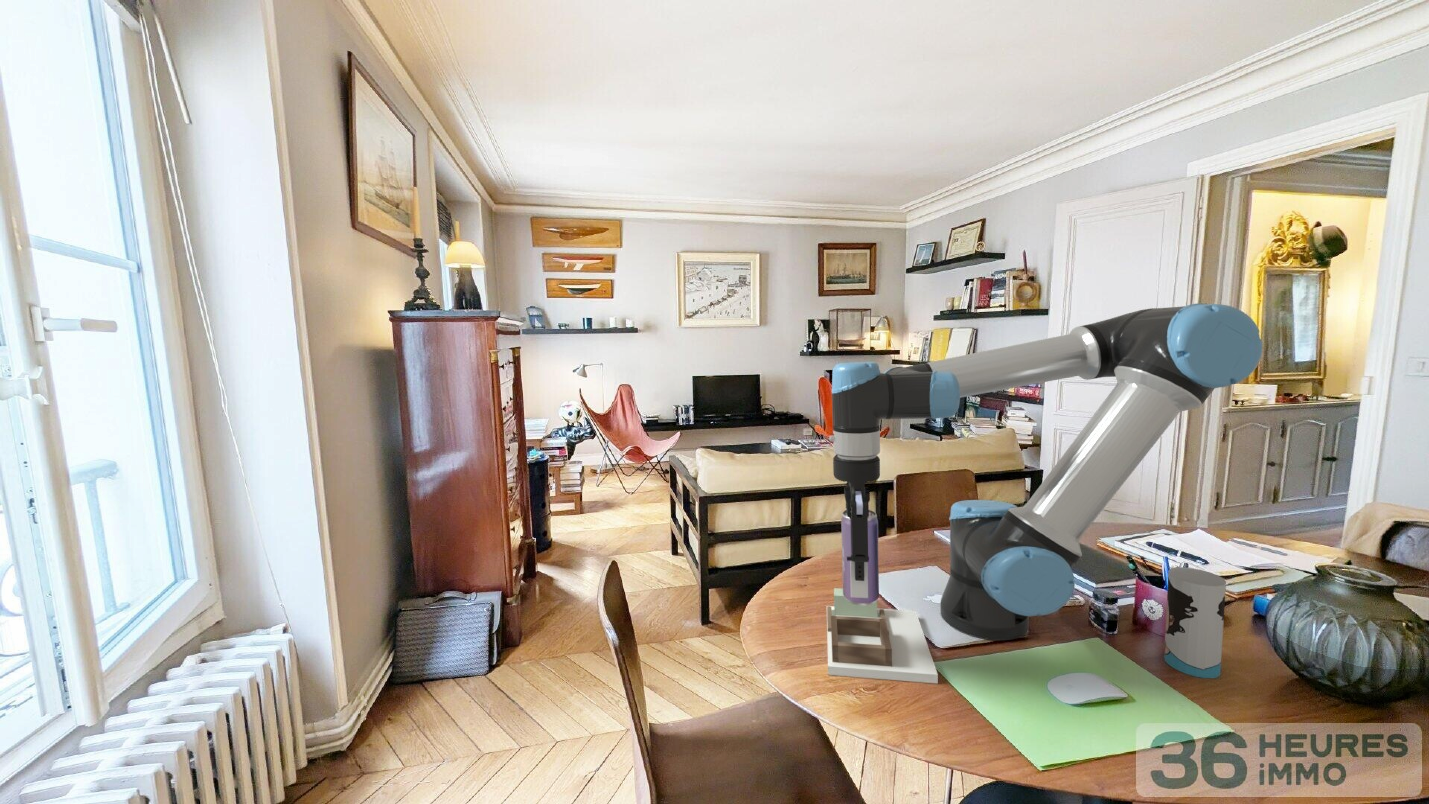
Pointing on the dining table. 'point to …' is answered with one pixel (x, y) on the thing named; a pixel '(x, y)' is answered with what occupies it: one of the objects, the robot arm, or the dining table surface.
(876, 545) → the beverage can
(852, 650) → the socket
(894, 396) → the robot arm
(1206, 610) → the cup
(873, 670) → the board
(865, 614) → the block
